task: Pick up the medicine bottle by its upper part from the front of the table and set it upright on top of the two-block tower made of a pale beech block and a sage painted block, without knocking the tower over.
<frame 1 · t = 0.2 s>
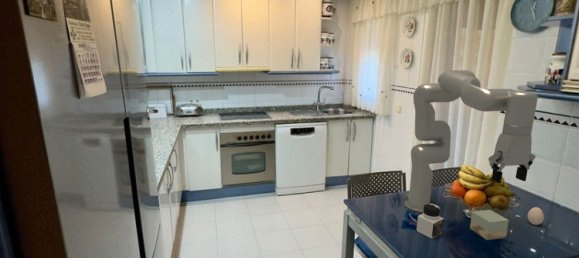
hand: (508, 180, 103), 31 cm above the table, tool pointing down, fingers open, 9 cm apart
egg: (534, 224, 136), on the table
medicine bottle: (428, 233, 129), on the table
block top: (488, 224, 128), point 4 cm above the table, touching block bottom
block bottom: (487, 233, 129), on the table, touching block top
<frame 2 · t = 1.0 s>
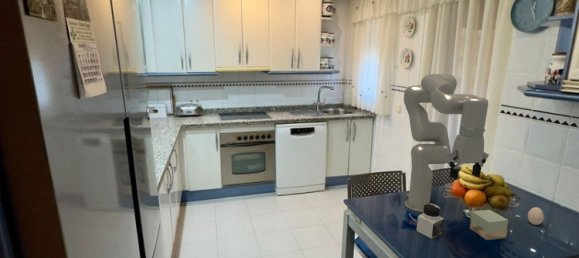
hand: (464, 177, 114), 28 cm above the table, tool pointing down, fingers open, 9 cm apart
nothing on the table moved.
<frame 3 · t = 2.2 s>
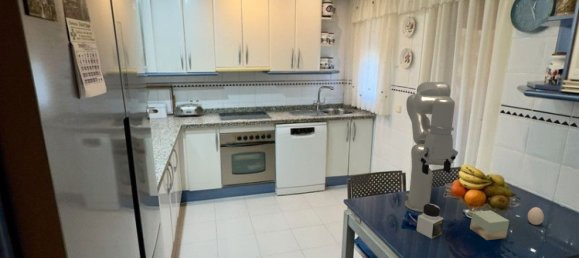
hand: (435, 172, 123), 26 cm above the table, tool pointing down, fingers open, 9 cm apart
nothing on the table moved.
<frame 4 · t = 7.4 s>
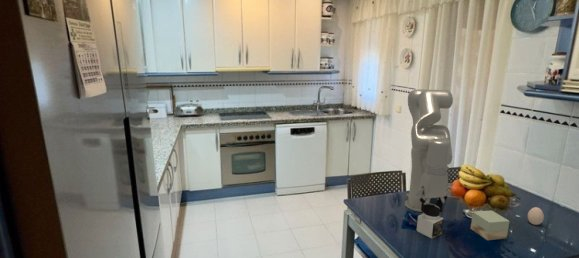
hand: (431, 211, 127), 10 cm above the table, tool pointing down, fingers closed on medicine bottle, 6 cm apart
medicine bottle: (428, 232, 129), on the table, touching gripper
everything else where it was.
when the fingers open (19 cm above the table, at t = 15.2 s): medicine bottle drops 1 cm, point 8 cm above the table.
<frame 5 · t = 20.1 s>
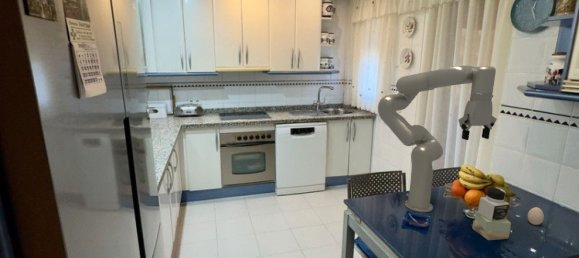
hand: (475, 138, 128), 38 cm above the table, tool pointing down, fingers open, 9 cm apart
medicine bottle: (491, 216, 127), point 8 cm above the table
at the end: medicine bottle 0.6 cm off-centre on the block bottom, point 8.1 cm above the block bottom's base; medicine bottle tilted 4°; block top 0.5 cm off-centre on the block bottom, point 4.0 cm above the block bottom's base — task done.
